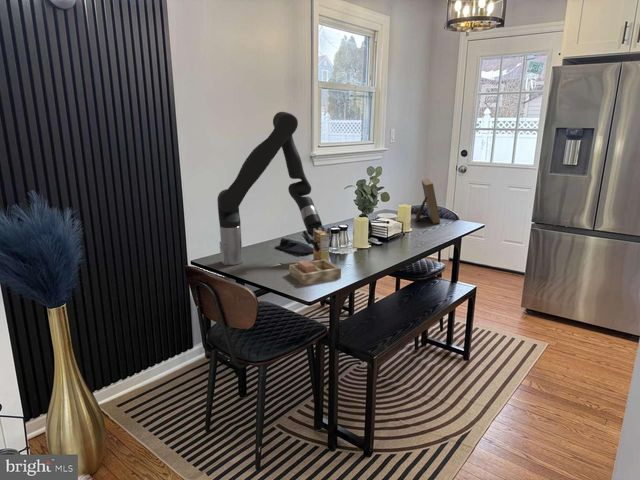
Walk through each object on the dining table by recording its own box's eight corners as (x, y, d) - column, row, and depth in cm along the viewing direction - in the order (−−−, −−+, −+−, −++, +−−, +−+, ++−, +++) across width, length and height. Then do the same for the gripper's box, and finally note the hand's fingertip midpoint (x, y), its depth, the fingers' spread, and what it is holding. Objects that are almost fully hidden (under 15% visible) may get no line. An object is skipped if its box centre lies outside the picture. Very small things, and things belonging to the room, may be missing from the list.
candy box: (312, 263, 203) (312, 230, 199) (321, 261, 204) (320, 229, 200) (321, 268, 195) (320, 234, 191) (329, 267, 197) (329, 233, 193)
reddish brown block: (306, 281, 176) (306, 266, 174) (297, 275, 183) (297, 261, 181) (315, 279, 178) (315, 265, 176) (306, 273, 184) (306, 259, 183)
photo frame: (435, 216, 295) (437, 178, 288) (440, 223, 274) (442, 183, 267) (412, 216, 296) (413, 178, 290) (415, 223, 276) (417, 183, 269)
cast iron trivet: (297, 258, 211) (296, 248, 210) (272, 248, 228) (272, 239, 227) (322, 252, 220) (322, 243, 219) (297, 243, 237) (297, 234, 235)
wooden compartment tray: (303, 288, 173) (303, 275, 171) (289, 277, 185) (289, 264, 183) (340, 281, 180) (341, 268, 178) (324, 271, 192) (324, 259, 190)
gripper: (298, 214, 197) (311, 248, 190) (327, 211, 203) (340, 243, 196) (294, 224, 203) (305, 256, 196) (322, 220, 209) (334, 252, 202)
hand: (323, 249), depth 196 cm, fingers closed on candy box, 4 cm apart
